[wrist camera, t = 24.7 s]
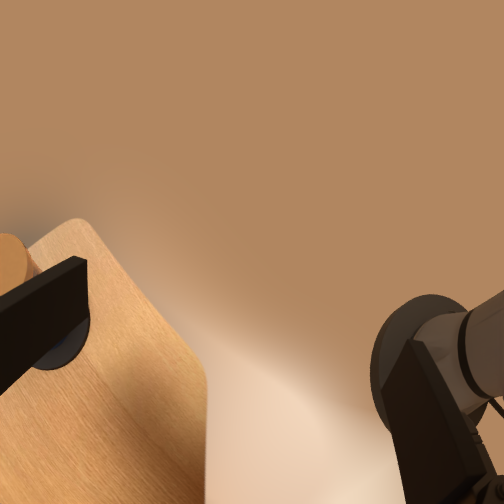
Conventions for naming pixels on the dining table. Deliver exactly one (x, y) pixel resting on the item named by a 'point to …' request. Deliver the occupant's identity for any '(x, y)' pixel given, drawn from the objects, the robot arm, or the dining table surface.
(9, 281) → the jar
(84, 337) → the coaster
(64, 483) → the dining table surface
